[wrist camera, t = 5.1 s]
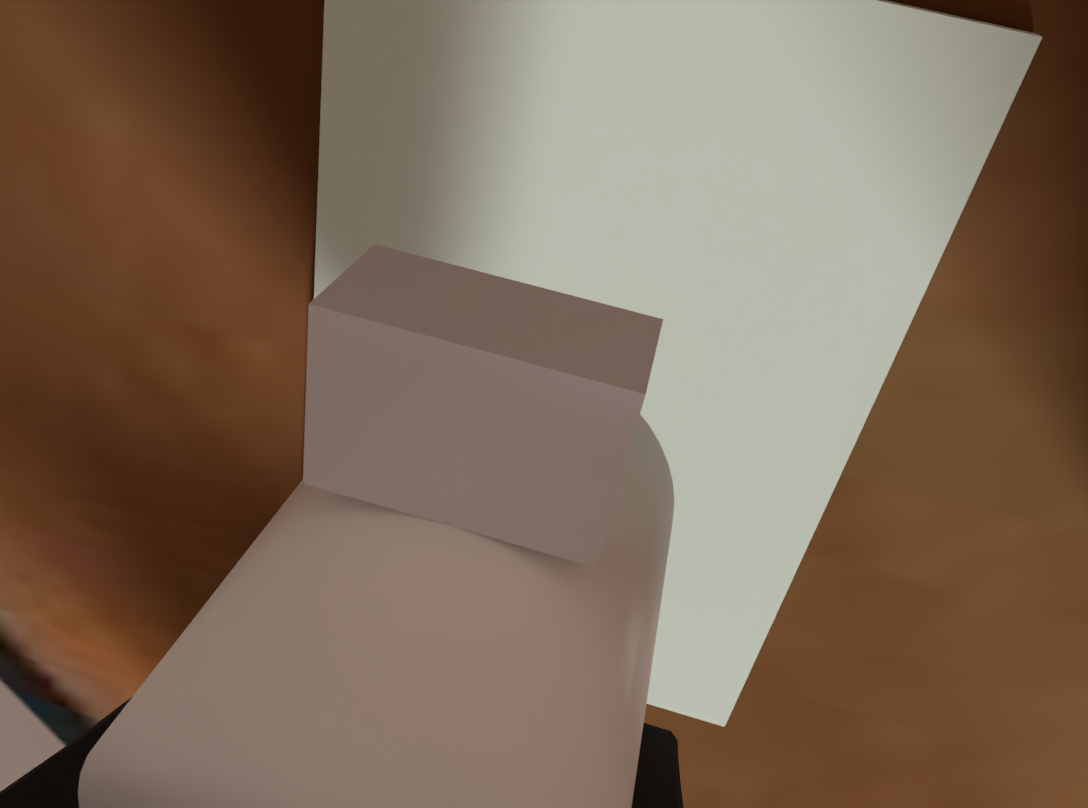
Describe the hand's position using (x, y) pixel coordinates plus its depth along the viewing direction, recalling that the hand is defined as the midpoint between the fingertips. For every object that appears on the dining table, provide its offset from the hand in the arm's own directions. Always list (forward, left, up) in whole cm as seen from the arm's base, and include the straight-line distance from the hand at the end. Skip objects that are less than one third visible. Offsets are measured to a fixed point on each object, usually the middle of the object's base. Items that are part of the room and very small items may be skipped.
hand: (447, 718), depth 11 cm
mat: (0, 0, -8) cm, 8 cm away
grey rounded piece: (0, 0, -1) cm, 1 cm away
